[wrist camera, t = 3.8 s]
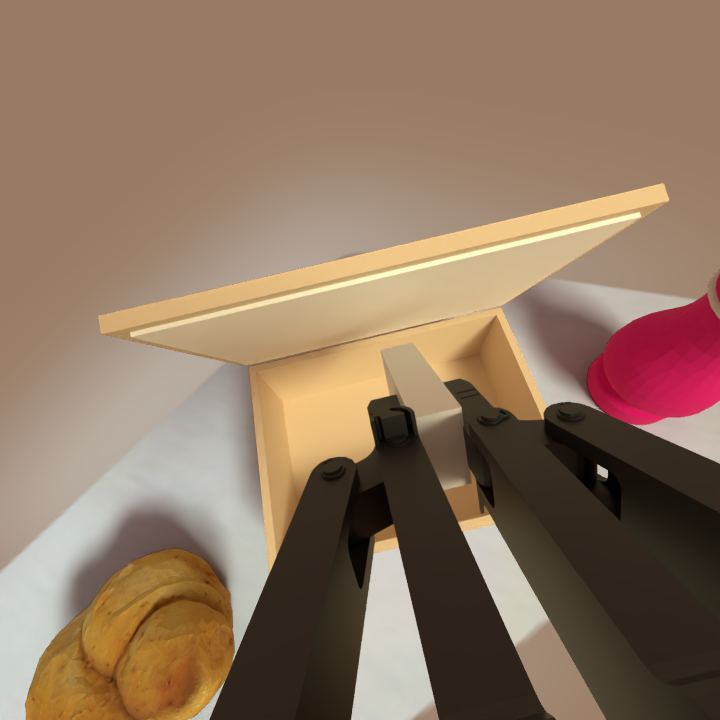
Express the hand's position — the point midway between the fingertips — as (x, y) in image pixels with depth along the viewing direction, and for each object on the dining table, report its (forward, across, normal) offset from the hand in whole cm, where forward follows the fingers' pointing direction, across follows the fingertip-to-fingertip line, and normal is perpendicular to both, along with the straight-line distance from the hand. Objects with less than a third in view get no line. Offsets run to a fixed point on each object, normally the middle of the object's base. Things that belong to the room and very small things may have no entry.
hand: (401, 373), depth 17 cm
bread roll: (+3, -20, -17) cm, 26 cm away
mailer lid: (+2, 0, +2) cm, 3 cm away
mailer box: (+10, 0, -10) cm, 14 cm away
